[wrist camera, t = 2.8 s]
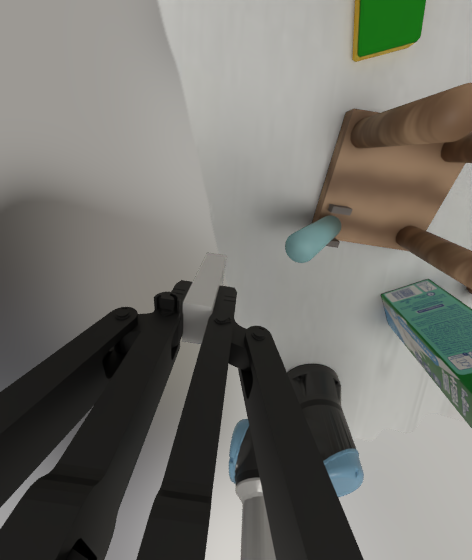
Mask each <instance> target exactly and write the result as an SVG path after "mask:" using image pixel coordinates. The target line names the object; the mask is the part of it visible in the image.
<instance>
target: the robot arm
mask: <svg viewBox="0 0 472 560" xmlns="http://www.w3.org/2000/svg"><path fill="white" fill-rule="evenodd" d="M225 263H226V255H220V254H213V253H207V254H206V256H205V258H204V260H203V262H202V264H201V266H200V268H199V270H198V272H197V274H196V276H195V279H194V280H193V282H190V281H183V280H181V281H180V282H178V283H177V284H176V285H175V286H174V288H173V290H172V291H171V292H162V293H159V294H157V295H156V296H155V297H154V306H155V310H154V312H153V313H148V314H138V313H137V311H136V310H135V309H133V308H131V307H121V308H118V309H115V310H113V311H112V312H110V313H109V314H107V315H106V316H105V317H103V318H102V319H101V320H99V321H98V322H96V323H95V324H94V325H92V326H91V327H89V328H88V329H87V330H85V331H84V332H83V333H81V334H80V335H79V336H77V337H76V338H74V339H73V340H72V341H70V342H69V343H67V344H66V345H65V346H63V347H62V348H61V349H59V350H58V351H56V352H55V353H54V354H52V355H51V356H50V357H48V358H47V359H46V360H44V361H43V362H41V363H40V364H39V365H37V366H36V367H34V368H33V369H32V370H30V371H29V372H28V373H26V374H25V375H23V376H22V377H21V378H19V379H18V380H17V381H15V382H14V383H12V384H11V385H10V386H8V387H7V388H5V389H4V390H3V391H1V392H0V507H1V506H2V505H3V504H4V503H5V502H6V501H7V500H8V499H9V498H10V496H11V495H12V494H13V493H14V492H15V491H16V490H17V489H18V488H19V487H20V485H21V484H22V483H23V482H24V481H25V480H26V479H27V478H28V477H29V476H30V475H31V474H32V472H33V471H34V470H35V469H36V468H37V467H38V466H39V465H40V464H41V462H42V461H43V460H44V459H45V458H46V457H47V456H48V455H49V454H50V453H51V452H52V450H53V449H54V448H55V447H56V446H57V445H58V444H59V443H60V442H61V440H63V438H64V437H65V436H66V435H67V434H68V433H69V432H70V431H71V429H73V428H74V426H75V425H76V424H77V423H78V422H79V421H80V420H81V419H82V418H83V417H84V416H85V414H86V413H87V412H88V411H89V410H90V409H91V408H92V407H93V408H92V410H91V411H90V413H89V414H88V416H87V417H86V419H85V421H84V422H83V424H82V425H81V427H80V428H79V430H78V432H77V433H76V435H75V437H74V438H73V440H72V441H71V443H70V444H69V446H68V447H67V449H66V451H65V452H64V454H63V455H62V457H61V459H60V460H59V462H58V463H57V464H56V466H55V467H54V469H53V470H52V471H51V472H50V473H48V474H46V475H45V476H43V477H41V478H39V479H38V480H37V481H36V482H34V483H33V484H32V485H31V486H30V488H29V489H28V490H27V491H26V493H25V494H24V496H23V497H22V498H21V500H20V501H19V502H18V504H17V505H16V507H15V508H14V510H13V512H12V513H11V514H10V516H9V517H8V519H7V520H6V522H5V523H4V525H3V526H2V528H1V529H0V560H104V559H105V556H106V554H107V551H108V548H109V545H110V542H111V539H112V536H113V532H114V529H115V523H116V518H117V513H118V510H119V507H120V504H121V502H122V499H123V496H124V494H125V491H126V488H127V486H128V483H129V480H130V478H131V475H132V473H133V470H134V467H135V465H136V462H137V459H138V457H139V454H140V452H141V449H142V446H143V443H144V441H145V438H146V436H147V433H148V430H149V428H150V425H151V422H152V420H153V417H154V415H155V412H156V409H157V407H158V404H159V402H160V399H161V396H162V393H163V391H164V388H165V386H166V383H167V380H168V378H169V375H170V373H171V370H172V367H173V364H174V362H175V359H176V357H177V354H178V351H179V349H180V339H181V337H182V341H184V342H190V343H197V344H201V347H200V351H199V354H198V358H197V362H196V365H195V369H194V372H193V376H192V379H191V383H190V387H189V390H188V394H187V397H186V401H185V404H184V408H183V411H182V415H181V418H180V422H179V425H178V429H177V433H176V436H175V440H174V443H173V447H172V450H171V454H170V458H169V461H168V465H167V468H166V471H165V475H164V478H163V482H162V485H161V488H160V490H159V492H158V494H157V495H156V498H155V500H154V503H153V506H152V509H151V513H150V515H149V519H148V522H147V525H146V529H145V533H144V536H143V539H142V543H141V546H140V549H139V553H138V556H137V560H204V559H205V551H206V543H207V535H208V527H209V519H210V510H211V498H212V489H213V481H214V473H215V465H216V458H217V450H218V442H219V434H220V426H221V418H222V410H223V402H224V394H225V386H226V379H227V370H228V363H229V364H231V365H233V366H235V367H237V368H238V370H239V376H240V381H241V386H242V391H243V396H244V401H245V406H246V411H247V416H248V419H242V420H241V421H239V422H238V423H237V425H236V426H235V429H234V432H233V436H232V440H231V446H230V454H229V456H230V460H229V476H230V479H231V481H232V482H234V483H235V484H236V494H237V495H238V497H239V498H240V500H241V501H242V504H243V509H242V538H241V560H363V557H362V555H361V552H360V550H359V547H358V545H357V543H356V540H355V538H354V535H353V533H352V530H351V528H350V526H349V523H348V521H347V518H346V516H345V513H344V511H343V508H342V506H341V504H340V501H339V499H338V497H341V496H344V495H347V494H349V493H351V492H353V491H355V490H356V489H358V488H359V487H360V485H361V484H362V481H363V476H364V474H363V470H362V466H361V463H360V460H359V453H358V451H357V450H356V447H355V444H354V442H353V439H352V436H351V433H350V430H349V427H348V425H347V422H346V419H345V416H344V413H343V411H342V408H341V385H340V381H339V379H338V376H337V374H336V373H335V372H334V371H333V370H332V369H330V368H328V367H326V366H323V365H318V364H307V365H302V366H299V367H296V368H294V369H292V370H291V371H289V372H288V373H287V372H286V369H285V367H284V365H283V362H282V360H281V357H280V355H279V352H278V350H277V348H276V345H275V343H274V340H273V338H272V335H271V334H270V332H269V331H268V330H267V329H265V328H263V327H261V326H251V327H249V328H248V329H245V328H243V327H241V326H239V325H238V324H237V323H236V322H235V320H234V312H235V304H236V296H237V292H236V290H235V288H233V287H226V286H223V279H224V271H225Z"/></svg>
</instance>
